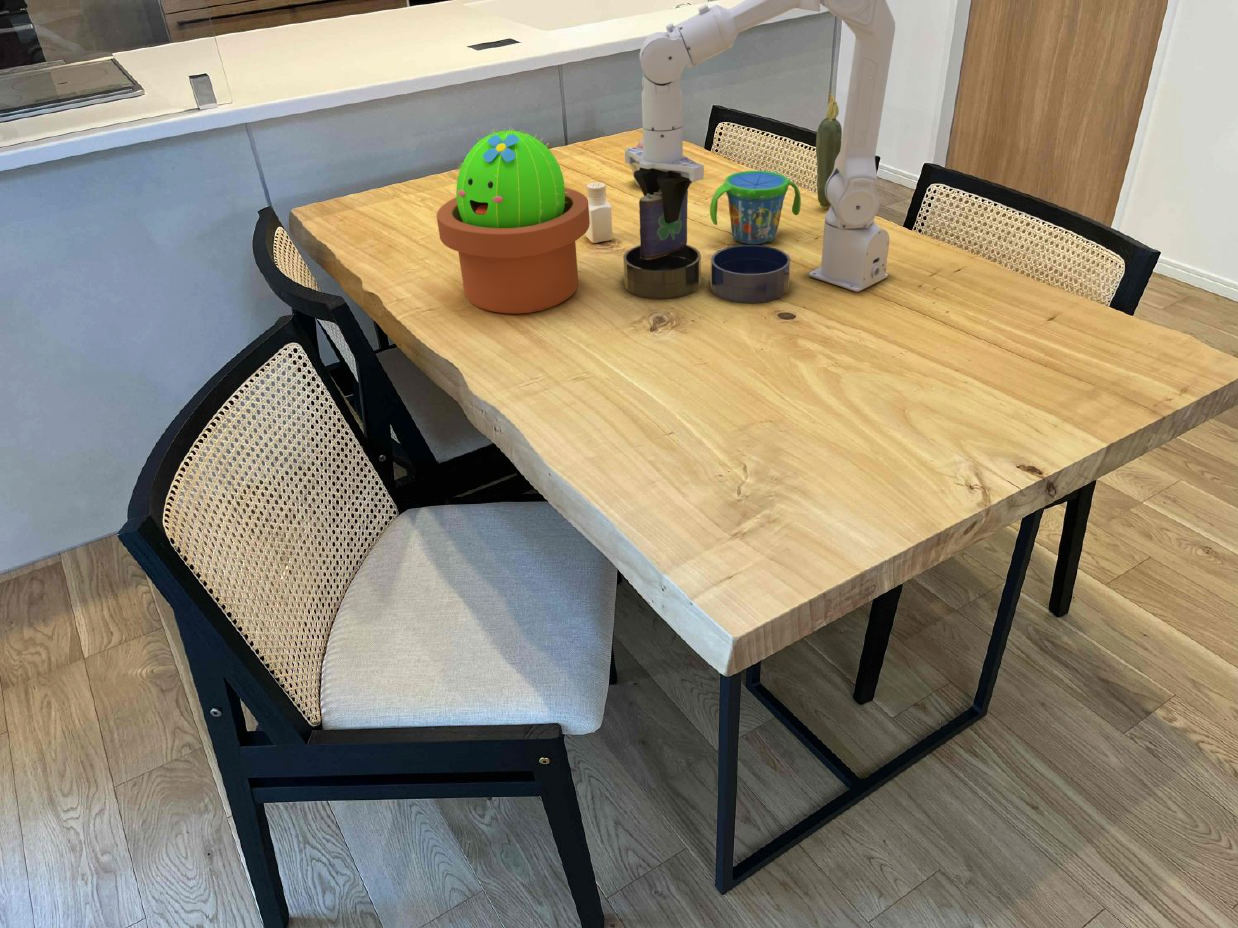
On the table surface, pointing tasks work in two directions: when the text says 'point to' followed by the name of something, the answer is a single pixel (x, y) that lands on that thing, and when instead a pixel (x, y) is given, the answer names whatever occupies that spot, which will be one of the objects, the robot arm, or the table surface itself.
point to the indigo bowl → (750, 273)
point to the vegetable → (827, 148)
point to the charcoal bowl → (662, 273)
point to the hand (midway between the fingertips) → (664, 219)
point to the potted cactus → (514, 225)
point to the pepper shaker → (599, 214)
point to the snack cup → (755, 204)
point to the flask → (660, 227)
